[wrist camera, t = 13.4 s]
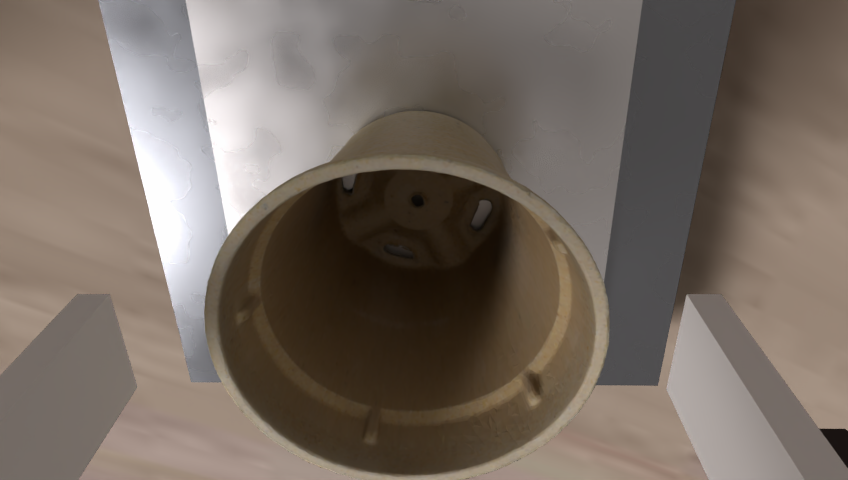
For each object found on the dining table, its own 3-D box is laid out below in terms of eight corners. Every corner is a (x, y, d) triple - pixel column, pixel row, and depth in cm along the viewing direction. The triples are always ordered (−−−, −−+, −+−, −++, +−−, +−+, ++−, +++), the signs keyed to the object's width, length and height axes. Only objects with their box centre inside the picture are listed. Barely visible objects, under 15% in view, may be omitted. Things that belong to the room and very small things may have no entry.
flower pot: (555, 297, 24) (606, 478, 16) (314, 315, 25) (255, 497, 17) (551, 46, 20) (618, 133, 12) (259, 77, 20) (148, 177, 13)
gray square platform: (220, 327, 31) (187, 389, 27) (135, -87, 22) (68, -86, 18) (632, 329, 30) (661, 393, 26) (704, -97, 22) (763, -99, 18)
